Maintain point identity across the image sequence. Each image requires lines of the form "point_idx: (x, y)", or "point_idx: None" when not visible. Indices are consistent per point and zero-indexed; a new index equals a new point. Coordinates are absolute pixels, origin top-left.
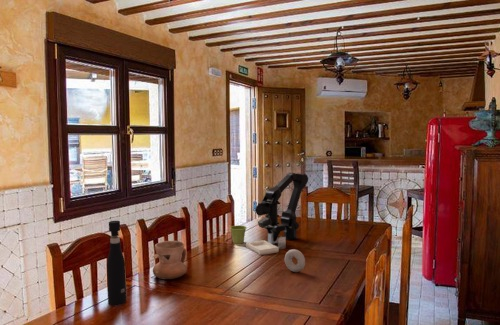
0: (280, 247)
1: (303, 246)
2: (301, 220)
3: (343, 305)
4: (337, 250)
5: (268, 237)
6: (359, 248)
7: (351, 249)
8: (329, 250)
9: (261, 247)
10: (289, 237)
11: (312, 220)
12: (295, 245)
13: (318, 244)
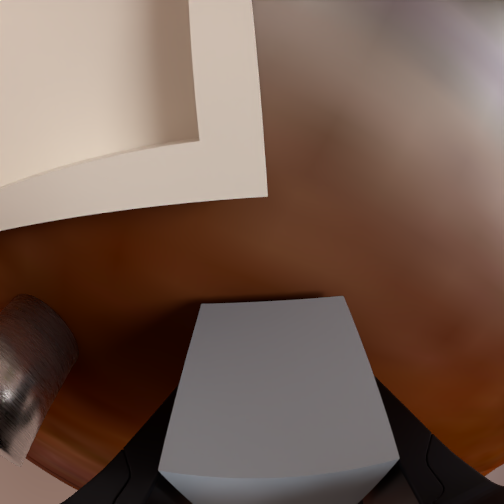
0: (3, 310)
1: (92, 444)
2: (489, 469)
3: None
4: (43, 457)
5: (335, 375)
6: (76, 486)
7: (63, 476)
8: (37, 447)
9: (16, 49)
10: None
11: None
12: (119, 437)
13: None
